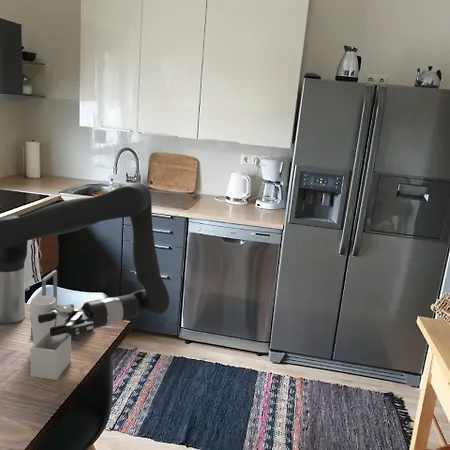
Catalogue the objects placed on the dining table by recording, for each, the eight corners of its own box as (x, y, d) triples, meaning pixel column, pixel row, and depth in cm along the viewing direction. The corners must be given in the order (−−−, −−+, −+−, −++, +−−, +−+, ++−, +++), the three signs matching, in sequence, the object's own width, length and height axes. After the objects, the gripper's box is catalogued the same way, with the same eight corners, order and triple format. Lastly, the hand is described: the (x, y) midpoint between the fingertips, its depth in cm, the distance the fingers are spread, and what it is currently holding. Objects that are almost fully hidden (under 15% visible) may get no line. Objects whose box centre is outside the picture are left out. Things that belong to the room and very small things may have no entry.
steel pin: (39, 362, 121) (53, 305, 122) (50, 359, 126) (64, 304, 126) (53, 367, 120) (68, 310, 120) (64, 364, 124) (78, 309, 125)
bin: (30, 376, 119) (30, 348, 117) (46, 358, 128) (46, 332, 126) (56, 379, 118) (56, 351, 117) (70, 361, 127) (71, 335, 125)
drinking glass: (47, 356, 129) (47, 306, 125) (25, 352, 130) (24, 302, 126) (60, 345, 135) (60, 297, 132) (39, 341, 136) (39, 293, 133)
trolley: (39, 336, 139) (39, 280, 135) (56, 320, 150) (56, 268, 146) (81, 341, 138) (82, 285, 134) (95, 325, 149) (96, 273, 145)
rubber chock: (31, 336, 139) (31, 327, 138) (34, 333, 141) (34, 324, 140) (40, 337, 139) (40, 328, 138) (43, 334, 141) (43, 325, 140)
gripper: (92, 291, 134) (34, 302, 123) (115, 309, 123) (54, 322, 113) (91, 315, 135) (34, 327, 125) (114, 335, 125) (54, 350, 114)
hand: (44, 325), depth 119 cm, fingers open, 8 cm apart
